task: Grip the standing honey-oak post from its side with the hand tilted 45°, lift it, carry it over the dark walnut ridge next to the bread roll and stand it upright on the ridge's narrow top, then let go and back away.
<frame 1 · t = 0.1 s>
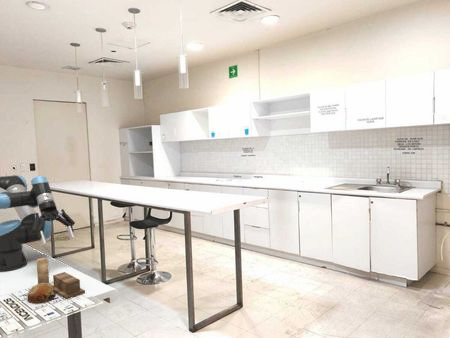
hand: (58, 241, 170), 15 cm above the table, tool tilted 35°, fingers open, 13 cm apart
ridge: (66, 291, 148), on the table
post: (43, 285, 154), on the table
bread roll: (42, 299, 142), on the table
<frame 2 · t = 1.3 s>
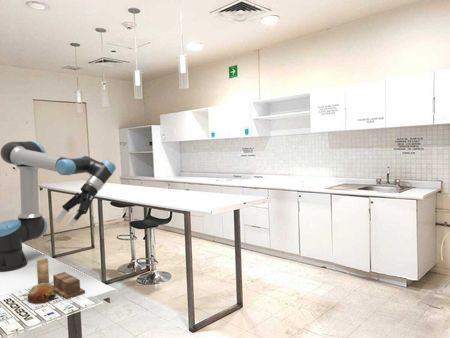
hand: (62, 223, 159), 26 cm above the table, tool tilted 45°, fingers open, 13 cm apart
nothing on the table moved.
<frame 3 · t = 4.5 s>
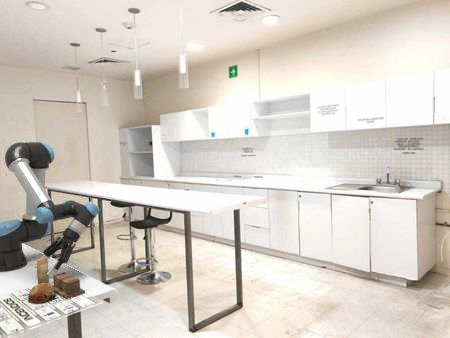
hand: (42, 272, 153), 6 cm above the table, tool tilted 45°, fingers open, 13 cm apart
nothing on the table moved.
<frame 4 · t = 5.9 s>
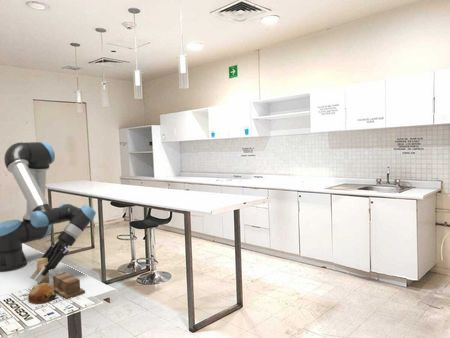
hand: (34, 280, 151), 4 cm above the table, tool tilted 45°, fingers closed on post, 4 cm apart
post: (43, 285, 154), on the table, touching gripper
everything else where it was.
when the fingers open (11 cm above the table, at t = 10.0 s): post stays where it is, resting on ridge.
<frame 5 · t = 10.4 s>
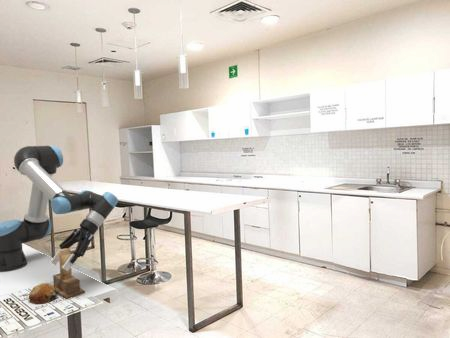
hand: (58, 266, 145), 12 cm above the table, tool tilted 45°, fingers open, 11 cm apart
post: (66, 277, 148), point 6 cm above the table, touching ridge
everything else where it was.
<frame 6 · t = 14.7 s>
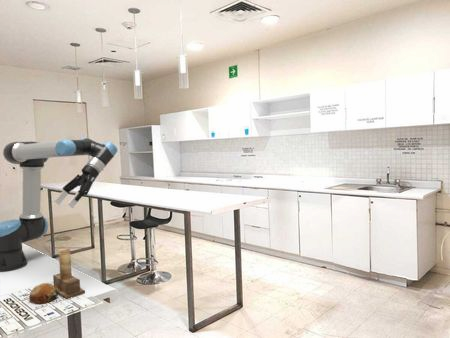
hand: (63, 204, 155), 36 cm above the table, tool tilted 45°, fingers open, 13 cm apart
at the end: post inside the target area on the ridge (0.1 cm from its centre), point 6.0 cm above the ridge's base; post tilted 0°; the gripper is holding nothing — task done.
